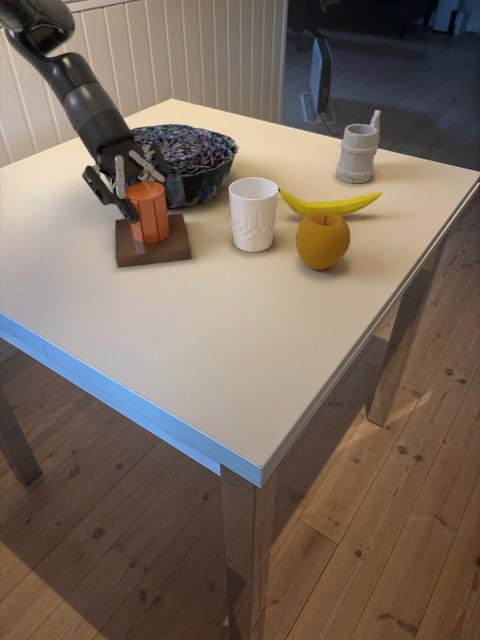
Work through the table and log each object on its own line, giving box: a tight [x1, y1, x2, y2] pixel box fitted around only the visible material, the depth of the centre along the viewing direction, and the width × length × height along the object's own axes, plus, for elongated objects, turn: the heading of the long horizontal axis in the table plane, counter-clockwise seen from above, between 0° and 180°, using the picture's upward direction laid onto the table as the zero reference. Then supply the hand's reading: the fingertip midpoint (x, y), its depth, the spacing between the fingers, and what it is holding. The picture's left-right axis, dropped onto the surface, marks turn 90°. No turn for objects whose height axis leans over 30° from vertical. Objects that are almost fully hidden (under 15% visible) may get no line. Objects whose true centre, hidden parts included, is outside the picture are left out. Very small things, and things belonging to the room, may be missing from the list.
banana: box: [278, 186, 383, 218], centre depth 88 cm, size 3×19×6 cm, turn 92°
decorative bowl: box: [104, 123, 240, 210], centre depth 97 cm, size 26×28×10 cm
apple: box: [295, 211, 351, 271], centre depth 76 cm, size 8×8×9 cm
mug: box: [335, 109, 382, 184], centre depth 100 cm, size 8×12×12 cm, turn 139°
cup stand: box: [114, 212, 192, 268], centre depth 81 cm, size 12×12×8 cm
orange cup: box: [125, 181, 170, 244], centre depth 80 cm, size 6×6×8 cm
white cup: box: [228, 176, 279, 253], centre depth 81 cm, size 8×8×10 cm
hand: (153, 213), depth 79 cm, fingers closed on orange cup, 6 cm apart
